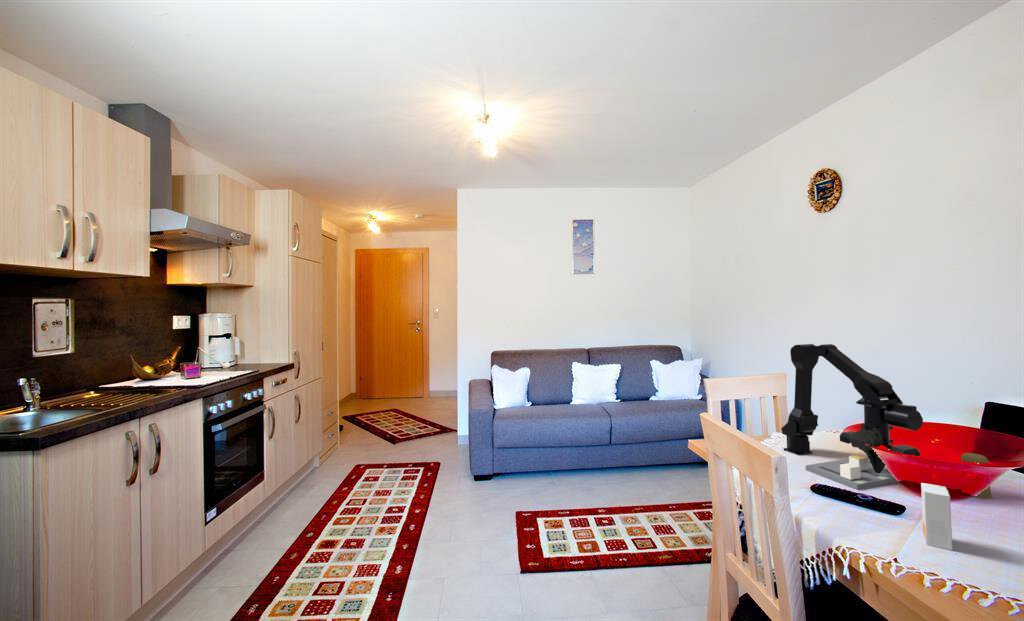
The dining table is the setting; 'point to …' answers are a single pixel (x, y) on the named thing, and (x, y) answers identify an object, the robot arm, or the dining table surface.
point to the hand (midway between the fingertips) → (877, 473)
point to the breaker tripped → (860, 461)
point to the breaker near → (850, 471)
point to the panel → (866, 480)
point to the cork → (978, 459)
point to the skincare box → (936, 516)
